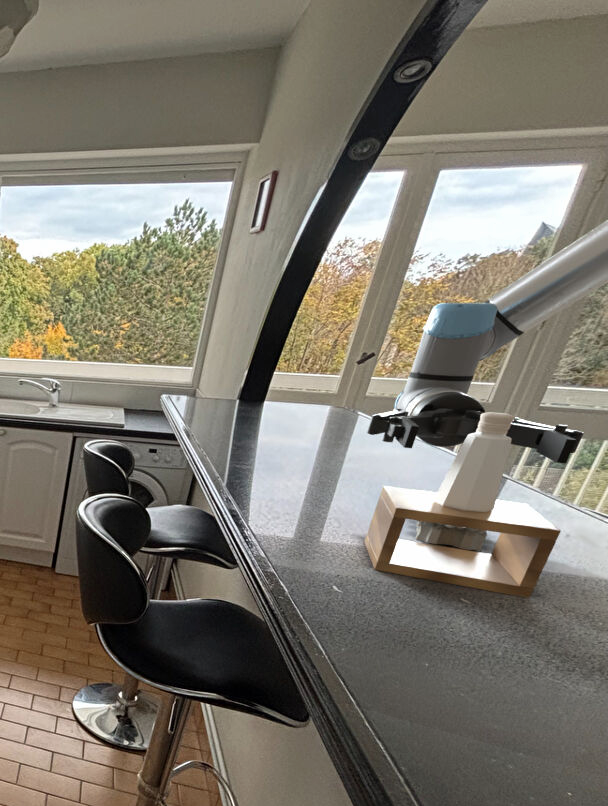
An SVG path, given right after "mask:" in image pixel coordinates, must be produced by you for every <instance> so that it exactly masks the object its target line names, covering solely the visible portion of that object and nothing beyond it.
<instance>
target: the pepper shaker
mask: <svg viewBox="0 0 608 806" xmlns="http://www.w3.org/2000/svg"><path fill="white" fill-rule="evenodd" d="M514 418H516V417H515V415H512V414H510V413H504V412H494V411H493V412H492V411H487V412H486V411H485V413H482V414H481V416H480V421H479V423H478V424H479V425H478V428H477V429H476V430H477V431H476V432H475V433H471V434H468V436H467V437H466V439H465V441H464V442H463V443H462V444H461V446H460V448H459V451H458V452H457V454H456V456H455V458H454V459H453V462H452V463H451V466H450V467H449V469H448V471H447V473H446V475H445V476H444V479H443V481H442V482H441V484H440V486H439V488H438V490H437V494H436V496H435V498H434V501H435V502H437V503H438V504H440V505H442V506H445V507H449V508H454V509H458V510H463V511H472V512H484V513H485V512H488V511H491V510H493V509H494V507H495V503H496V500H498V499H497V498H498V495H499V491H500V488H501V484H502V479H503V477H504V472H505V468H506V464H507V460H508V456H509V452H510V449H511V445H512V444H511V440H512V439H511V438H510V437H507V436H506V434H507V433H508V432H507V431H508V429H510V426H511V423H512V421H513V420H514Z"/></svg>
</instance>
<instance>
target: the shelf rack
mask: <svg viewBox="0 0 608 806" xmlns="http://www.w3.org/2000/svg"><path fill="white" fill-rule="evenodd" d="M380 491H381V492H380V495H379V497H378V499H377V503H376V506H375V509H374V512H373V515H372V519H371V521H370V523H369V527H368V530H367V533H366V535H365V538H364V545H365V548H366V550H367V554H368V555H369V558H370V561H371V564H372V567H373V569H374V570H375V571H378V572H384V573H389V574H395V575H399V576H400V575H401V576H407V577H411V578H417V579H422V580H428V581H432V582H433V581H434V582H440V583H443V584H450V585H455V586H460V587H466V588H471V589H472V588H473V589H478V590H483V591H488V592H494V593H500V594H504V595H510V596H516V597H521V598H526V599H530V598H531V596H532V594H533V591H534V589H535V587H536V585H537V583H538V581H539V579H540V576H541V574H542V573H543V570H544V568H545V566H546V564H547V561H548V560H549V557H550V555H551V553H552V552H553V549H554V547H555V544H556V542H557V540H558V538H559V536H560V533H561V531H562V530H561V529H559V528H558V527H557V526H555V525H554V524H553V523H551V522H550V521H549V520H548V519H547V518H545V517H544V516H543V515H541V514H540V513H539V512H538V511H537V510H535V509H534V508H533V507H531V506H530V505H529V504H528V503H523V502H515V501H507V500H500V499H496V503H495V507H494V509H493V510H491V511H488V512H485V513H484V512H472V511H463V510H458V509H454V508H449V507H445V506H442V505H440V504H438V503H437V502H435V501H434V498H435V496H436V494H437V492H438V491H437V492H436V491H428V490H422V489H421V490H420V489H414V488H412V489H411V488H404V487H395V486H388V485H382V489H381V490H380ZM406 520H411V521H417V520H418V521H424V522H431V523H438V524H445V525H452V526H459V527H466V528H472V529H479V530H486V532H493V533H499V536H498V538H497V539H496V543H495V545H494V548H493V549H492V552H491V553H487V552H481V551H476V550H466V549H462V548H457V547H449V546H448V547H447V546H443V545H438V544H436V545H435V544H432V543H426V542H418V541H411V540H405V539H400V537H401V534H402V530H403V527H404V525H405V522H406Z"/></svg>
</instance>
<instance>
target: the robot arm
mask: <svg viewBox="0 0 608 806" xmlns="http://www.w3.org/2000/svg"><path fill="white" fill-rule="evenodd" d="M606 284H608V219H607V220H604V222H602V223H600V224H599V225H597V226H596V227H595V228H593V229H592V230H590V231H588V232H587V233H585V234H584V235H582V236H581V237H579V238H578V239H576V240H575V241H573V242H571V244H569V245H567V246H566V247H564V248H563V249H561V250H560V251H558V252H557V253H556V254H554V255H553V256H550V258H548V259H546V260H545V261H543V262H542V263H540V264H539V265H537V266H536V267H534V268H533V269H531V270H530V271H528V272H527V273H525V274H524V275H522V276H520V277H519V278H518V279H516V280H515V281H513V282H512V283H511V284H509V285H507V286H505V287H504V288H502V289H501V290H499V291H498V292H496V293H495V294H494V295H492V296H491V297H489V298H488V299H487V300H485V301H483V302H482V303H481V302H441V303H438V304H436V305H434V306H433V307H432V309H431V312H430V314H429V316H428V319H427V321H426V323H424V326H423V332H422V336H421V338H420V341H419V344H418V348H417V352H416V355H415V358H414V359H413V360H414V361H413V363H412V367H411V370H410V372H409V375H408V378H407V381H406V383H405V386H404V389H403V390H402V391H401V392H400V394H398V396H397V397H396V398H395V399H396V400H395V402H394V409H392V410H391V411H387V412H381V413H377V414H372V416H371V419H370V422H369V425H368V428H367V431H366V433H367V434H368V435H371V436H375V435H379V434H383V437H382V442H385V443H393V442H394V439H395V440H396V441H397V442H398V443H399V444H400V445H401V447H403V448H405V449H413V446H414V443H415V441H416V438H418V439H420V440H421V441H422V442H423V443H425V444H427V445H430V446H433V447H438V448H451V447H455V446H459V445H462V444H463V442H464V441H465V439H466V437H467V436H468V434H471V433H475V432H476V431H477V430H476V429H477V428H478V425H479V424H478V423H479V421H480V416H481V414H482V413H486V410H485V407H484V405H483V404H482V403H481V402H480V401H479V400H478V399H477V398H474V397H473V396H470V395H468V392H469V389H470V387H471V384H472V382H473V379H474V376H475V372H476V370H477V368H478V365H479V362H482V361H483V360H485V359H487V358H489V357H490V356H492V355H494V354H495V353H496V352H497V351H498V350H500V349H501V348H502V347H505V346H506V345H507V344H509V343H511V342H512V341H514V340H516V339H518V338H519V337H521V336H522V335H523V334H525V333H527V332H528V331H530V330H532V329H534V328H536V326H538V325H540V324H541V323H543V322H545V321H547V320H548V319H550V318H552V317H553V316H555V315H557V314H558V313H560V312H562V311H563V310H566V309H567V308H568V307H570V306H572V305H573V304H575V303H576V302H578V301H580V300H581V299H584V298H585V297H586V296H588V295H590V294H592V293H593V292H594V291H596V290H598V289H600V288H601V287H603V286H605V285H606ZM507 432H508V433H507V434H506V436H507V437H510V438H511V439H512V440H511V445H513V446H519V447H523V448H528V449H534V450H536V451H535V452H536V453H538V454H539V455H542V456H544V457H545V458H547V459H548V460H551V461H552V462H554V463H556V464H567V462H568V460H569V458H570V456H571V454H575V453H576V451H577V449H578V447H579V445H580V443H581V440H582V439H583V436H584V434H585V432H584V431H580V430H578V429H577V430H575V429H574V430H573V429H569V428H568V424H556V426H553V425H549V424H543V423H539V422H533V421H529V420H525V419H522V418H520V417H515V418H514V420H513V421H512V423H511V426H510V429H508V431H507Z"/></svg>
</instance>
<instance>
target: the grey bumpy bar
mask: <svg viewBox="0 0 608 806" xmlns="http://www.w3.org/2000/svg"><path fill="white" fill-rule="evenodd" d="M415 526H416V529H415V531H416V536H415V539H416V540H418V541H422V542H423V543H425V544H431V545H447V546H452V547H453V548H457V549H462V550H468V551H477V552H481V550H482V547H483V545H484V543H485V540H486V538H487V536H488V533H487V531H486V530H479V529H472V528H466V527H459V526H452V525H445V524H438V523H431V522H424V521H418V520H416V525H415Z"/></svg>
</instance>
